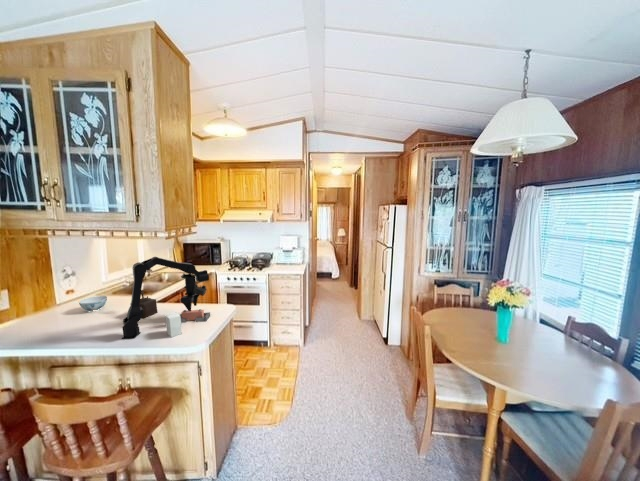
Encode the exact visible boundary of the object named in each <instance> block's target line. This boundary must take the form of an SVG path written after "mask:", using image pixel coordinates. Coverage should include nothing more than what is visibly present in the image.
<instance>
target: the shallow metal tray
mask: <svg viewBox="0 0 640 481" xmlns="http://www.w3.org/2000/svg"><path fill="white" fill-rule="evenodd" d="M179 315H180V317H181V324H185V323H187V322H188V321H189V320H187V321H186V318H182V315H181V313H180V314H179ZM210 318H211V312H204V317H196V320H195V322H196V323H201V322H208V321H209V320H208V319H210Z"/></svg>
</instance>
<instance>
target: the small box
mask: <svg viewBox="0 0 640 481" xmlns="http://www.w3.org/2000/svg"><path fill="white" fill-rule="evenodd" d="M164 316H165V325H166V334H167V335H169V337H170V338H174V337H177V336H180V335H182V334H183V330H182V329H183V328H182V327H183V326H182V323H181V317H180V314H178V313H177V312H172V313H168V314H165V315H164Z"/></svg>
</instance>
